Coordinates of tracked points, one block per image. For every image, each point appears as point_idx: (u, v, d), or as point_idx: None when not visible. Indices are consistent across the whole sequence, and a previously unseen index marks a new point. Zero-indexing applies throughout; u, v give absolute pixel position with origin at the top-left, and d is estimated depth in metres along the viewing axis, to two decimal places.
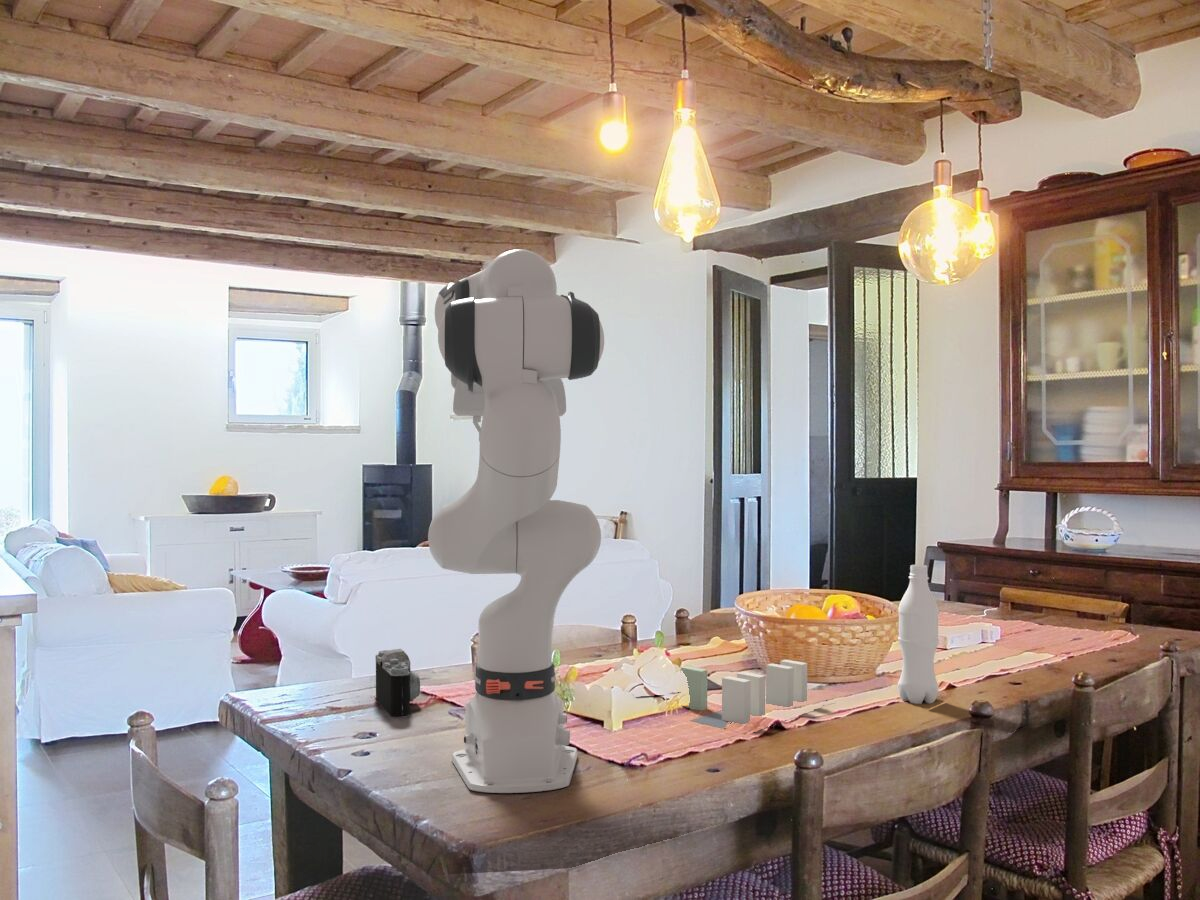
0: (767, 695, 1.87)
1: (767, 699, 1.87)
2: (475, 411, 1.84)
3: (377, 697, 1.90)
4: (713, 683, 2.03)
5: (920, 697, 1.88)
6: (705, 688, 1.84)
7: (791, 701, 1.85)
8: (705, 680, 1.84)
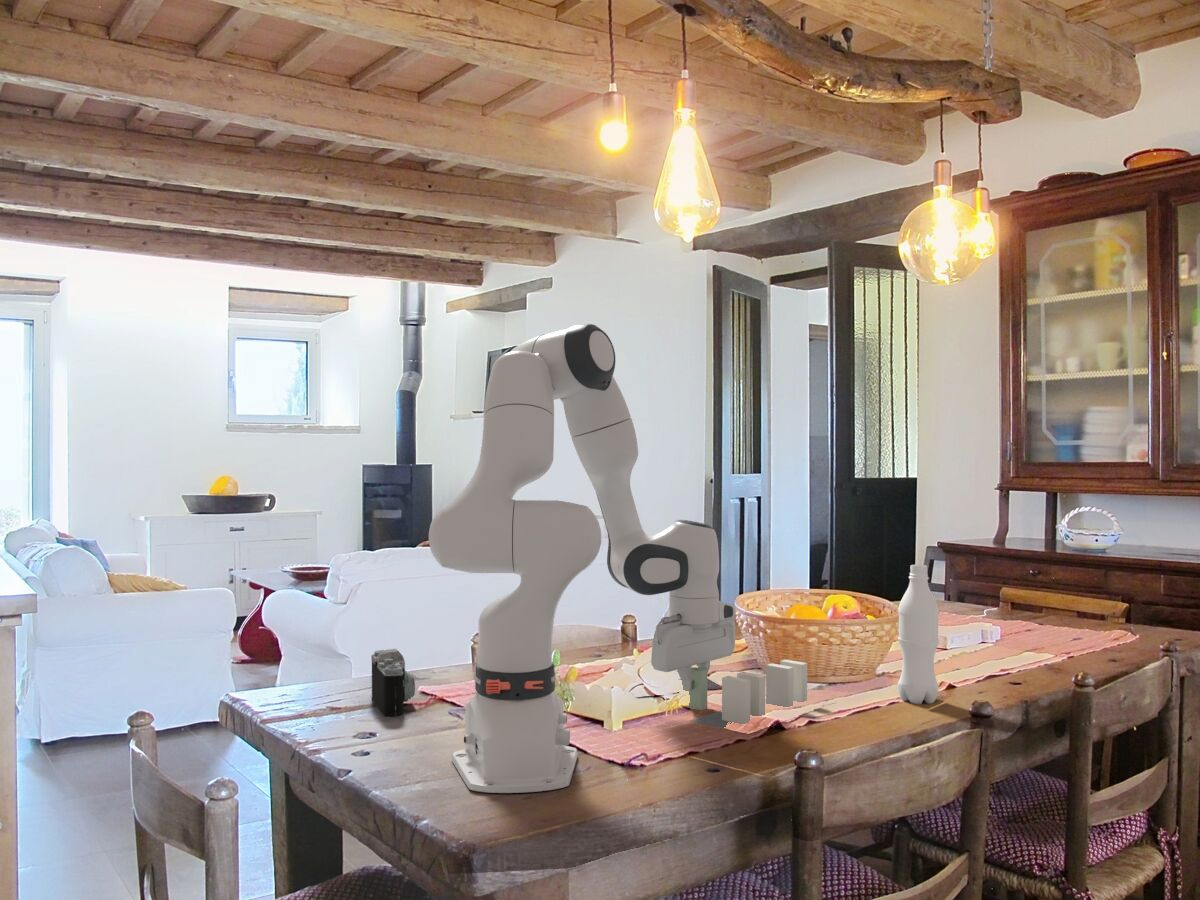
0: (767, 695, 1.87)
1: (767, 699, 1.87)
2: (680, 665, 1.80)
3: (373, 697, 1.90)
4: (713, 683, 2.03)
5: (920, 697, 1.88)
6: (705, 688, 1.84)
7: (791, 701, 1.85)
8: (705, 680, 1.84)
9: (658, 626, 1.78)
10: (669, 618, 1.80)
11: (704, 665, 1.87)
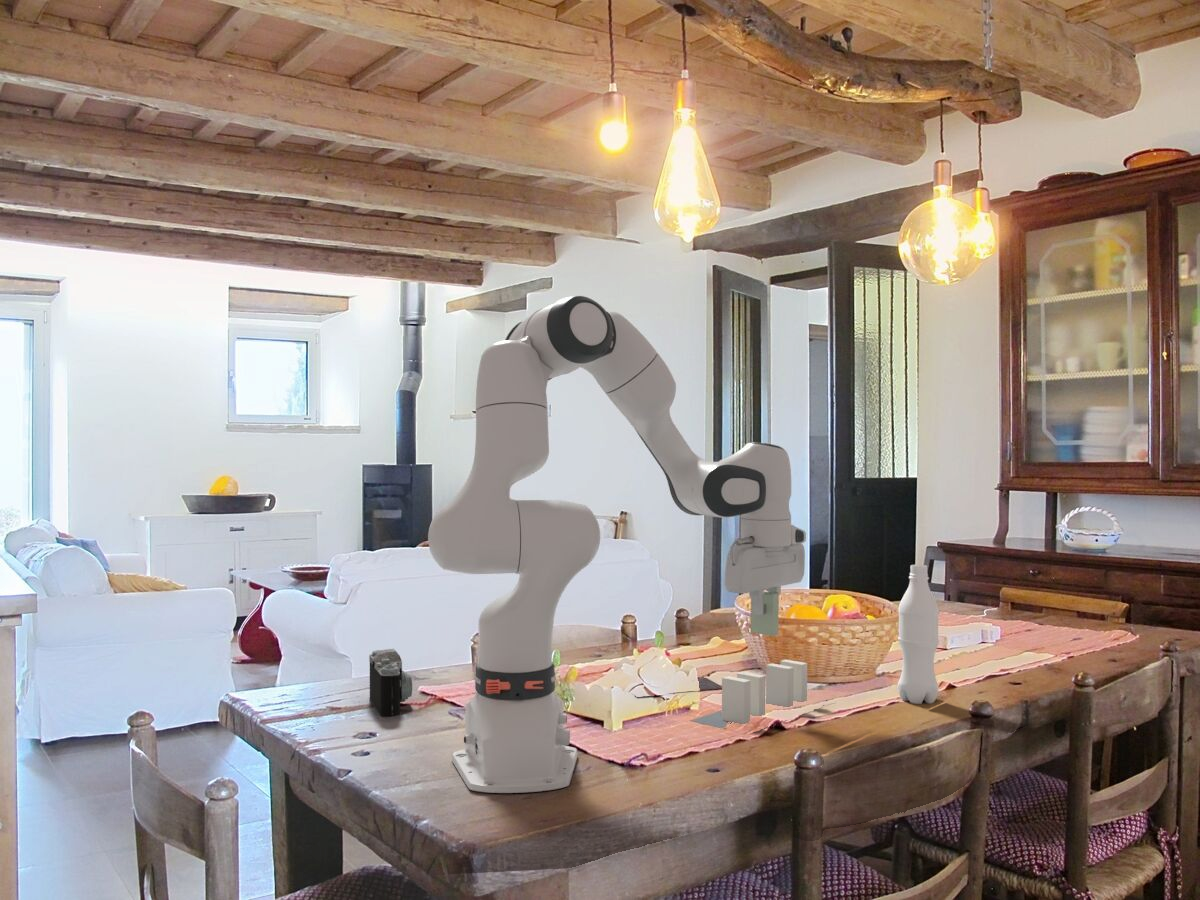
0: (767, 695, 1.87)
1: (767, 699, 1.87)
2: (754, 587, 1.77)
3: (370, 697, 1.90)
4: (714, 683, 2.02)
5: (920, 697, 1.88)
6: (776, 612, 1.82)
7: (791, 701, 1.85)
8: (776, 604, 1.82)
9: (732, 547, 1.75)
10: (743, 539, 1.77)
11: (775, 590, 1.84)
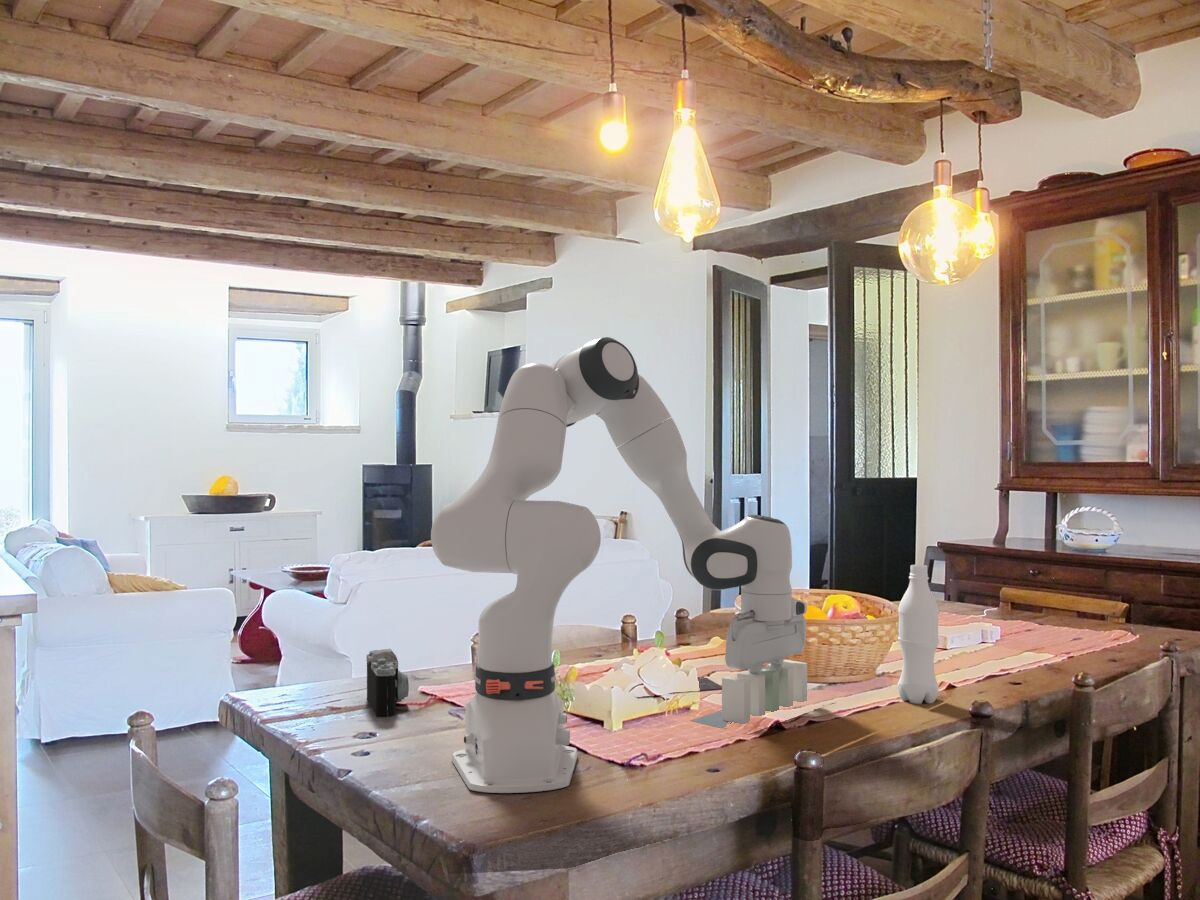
0: None
1: None
2: (754, 662, 1.77)
3: (367, 697, 1.90)
4: (714, 683, 2.02)
5: (920, 697, 1.88)
6: (777, 690, 1.82)
7: (791, 701, 1.85)
8: (777, 682, 1.82)
9: (733, 623, 1.75)
10: (743, 614, 1.77)
11: (778, 662, 1.84)
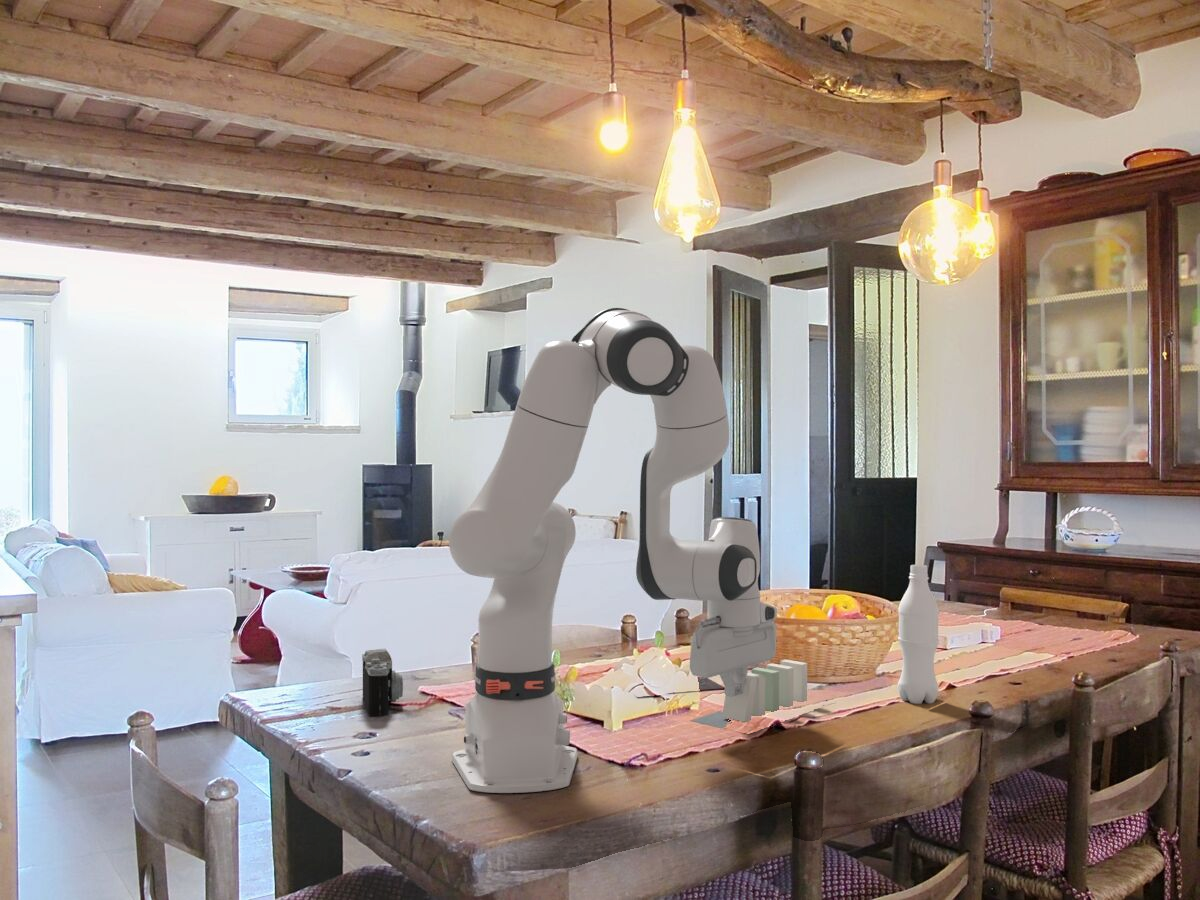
0: None
1: None
2: (720, 670, 1.69)
3: None
4: (714, 683, 2.02)
5: (920, 697, 1.88)
6: (777, 690, 1.82)
7: (791, 701, 1.85)
8: (777, 682, 1.82)
9: (697, 629, 1.68)
10: (708, 620, 1.69)
11: (741, 671, 1.75)
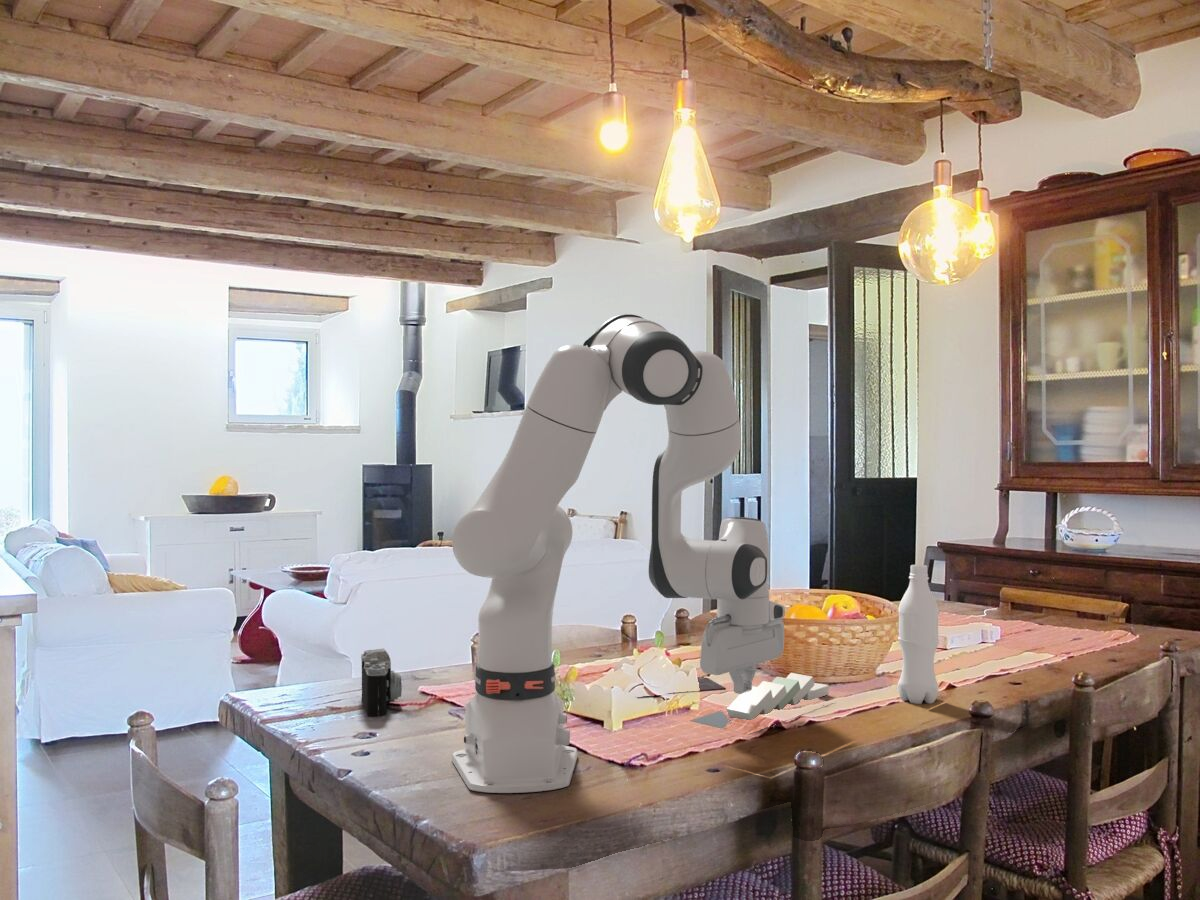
0: None
1: None
2: (730, 668, 1.72)
3: None
4: (714, 683, 2.02)
5: (920, 697, 1.88)
6: (791, 696, 1.85)
7: (797, 700, 1.87)
8: (795, 692, 1.86)
9: (708, 627, 1.70)
10: (719, 619, 1.72)
11: (750, 668, 1.78)
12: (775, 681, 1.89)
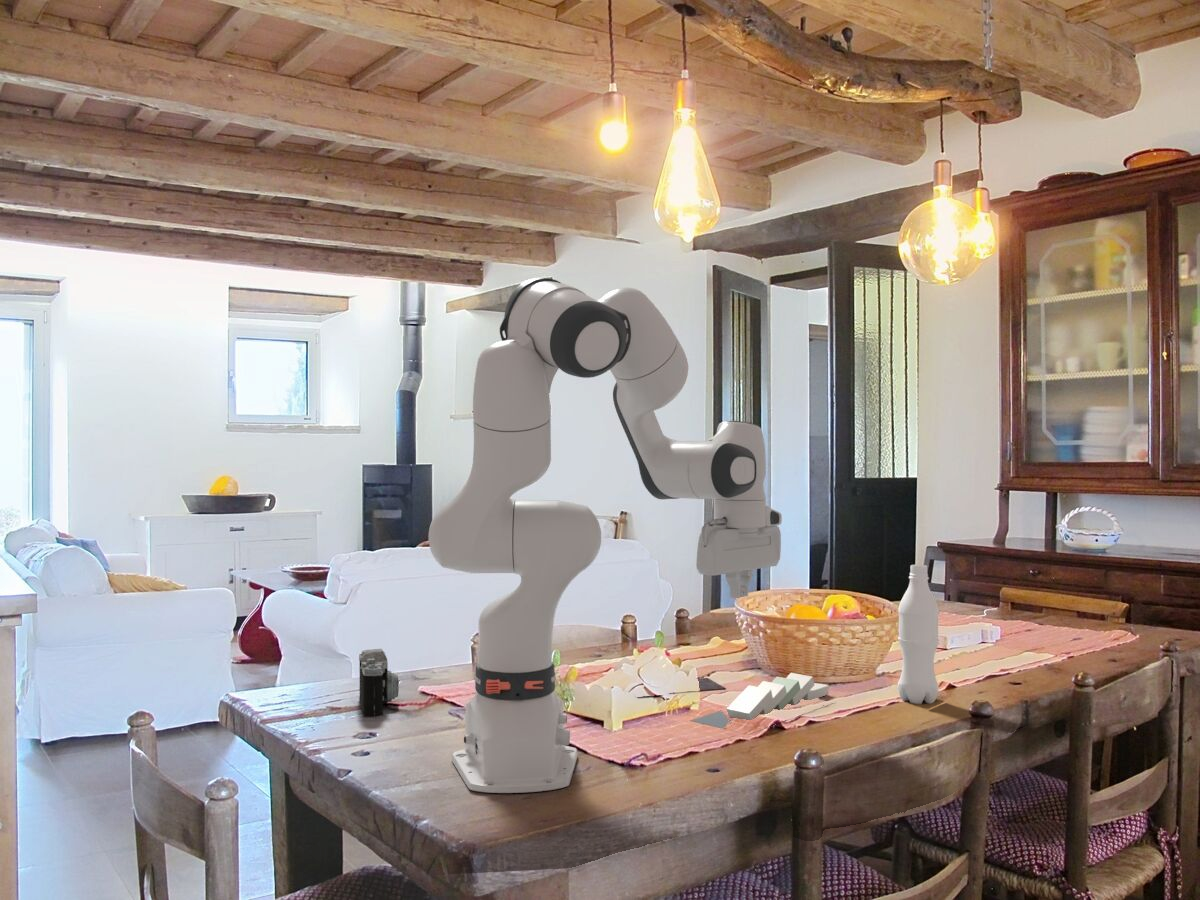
0: None
1: None
2: (726, 569, 1.72)
3: None
4: (715, 683, 2.02)
5: (920, 697, 1.88)
6: (791, 696, 1.85)
7: (797, 700, 1.87)
8: (795, 692, 1.86)
9: (704, 527, 1.70)
10: (715, 520, 1.72)
11: (747, 574, 1.78)
12: (775, 681, 1.89)
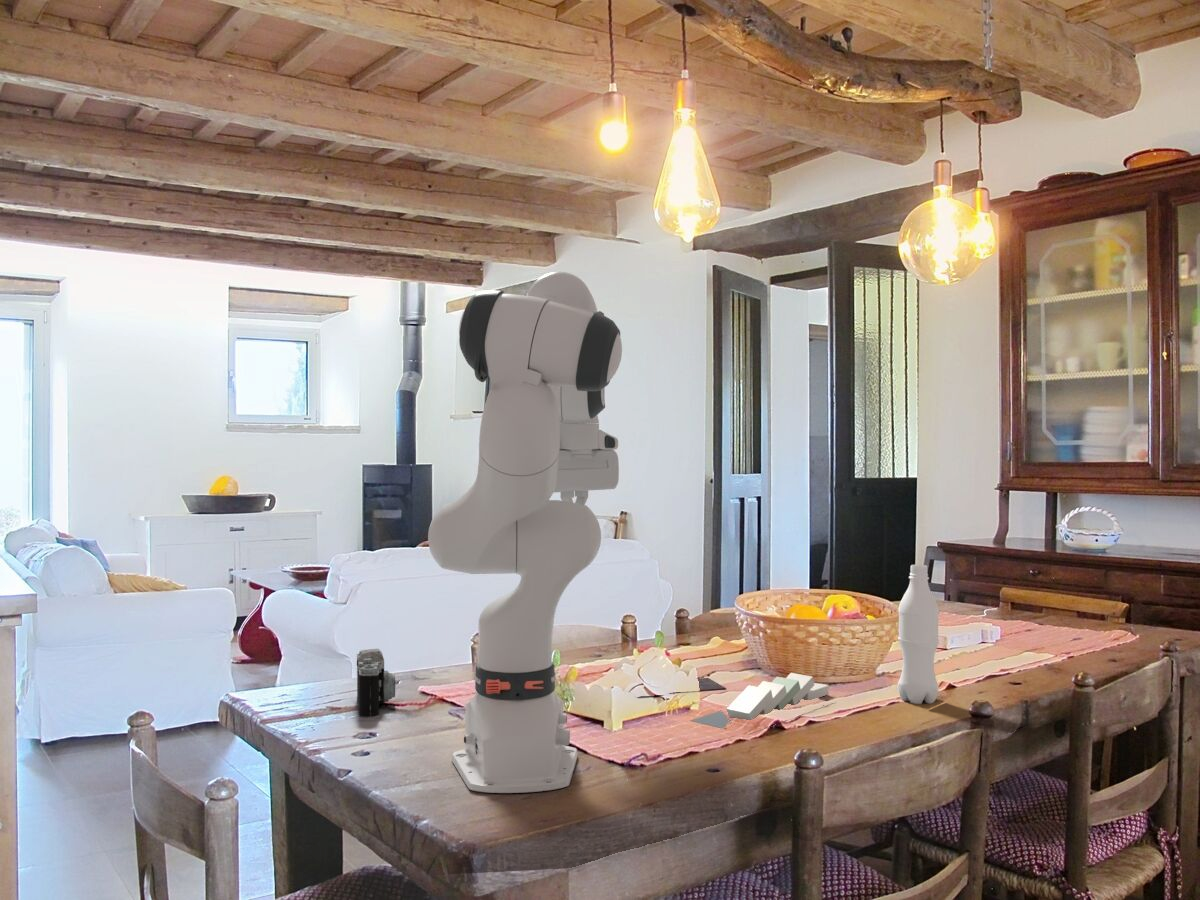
0: None
1: None
2: (557, 488, 1.82)
3: None
4: (715, 683, 2.02)
5: (920, 697, 1.88)
6: (791, 696, 1.85)
7: (797, 700, 1.87)
8: (795, 692, 1.86)
9: None
10: None
11: (582, 494, 1.88)
12: (775, 681, 1.89)
